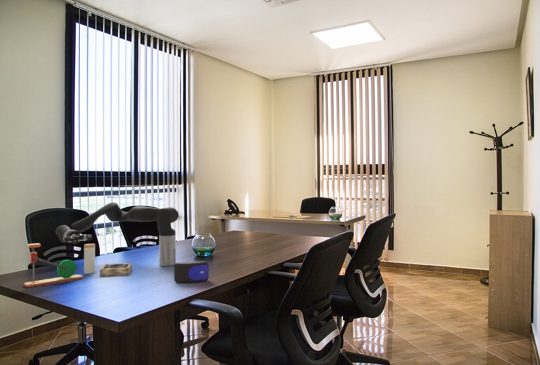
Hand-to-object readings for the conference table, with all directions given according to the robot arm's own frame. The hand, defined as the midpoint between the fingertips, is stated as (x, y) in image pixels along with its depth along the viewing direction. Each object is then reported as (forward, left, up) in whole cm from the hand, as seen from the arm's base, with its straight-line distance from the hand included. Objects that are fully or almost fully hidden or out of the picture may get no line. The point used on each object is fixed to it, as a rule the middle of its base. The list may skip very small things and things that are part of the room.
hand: (82, 239), depth 224 cm
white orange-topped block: (-6, +10, -17) cm, 20 cm away
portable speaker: (-58, +44, -17) cm, 74 cm away
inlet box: (-20, +14, -17) cm, 29 cm away
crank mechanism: (+6, +29, -17) cm, 34 cm away
